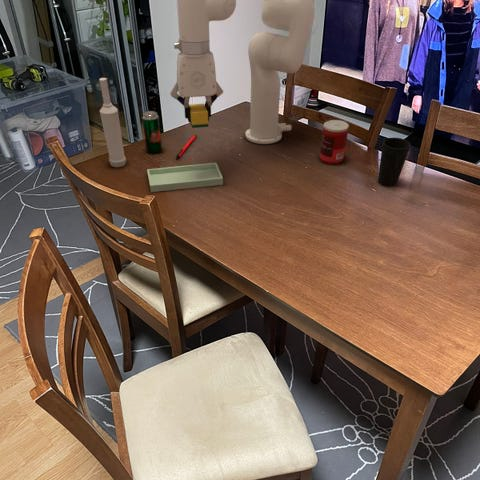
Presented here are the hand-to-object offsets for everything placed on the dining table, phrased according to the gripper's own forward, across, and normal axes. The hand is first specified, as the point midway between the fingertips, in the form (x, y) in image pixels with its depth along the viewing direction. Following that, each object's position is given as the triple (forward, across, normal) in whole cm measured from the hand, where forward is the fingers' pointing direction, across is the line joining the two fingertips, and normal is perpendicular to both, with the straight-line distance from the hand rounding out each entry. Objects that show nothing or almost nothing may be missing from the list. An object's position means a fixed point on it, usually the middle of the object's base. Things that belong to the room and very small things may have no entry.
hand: (198, 119), depth 134 cm
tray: (+17, -5, -2) cm, 18 cm away
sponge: (+1, 0, 0) cm, 1 cm away
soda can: (+17, -12, +20) cm, 29 cm away
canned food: (+17, +43, +2) cm, 46 cm away
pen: (+17, -2, +20) cm, 26 cm away
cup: (+17, +54, -15) cm, 59 cm away
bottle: (+17, -24, +13) cm, 32 cm away
